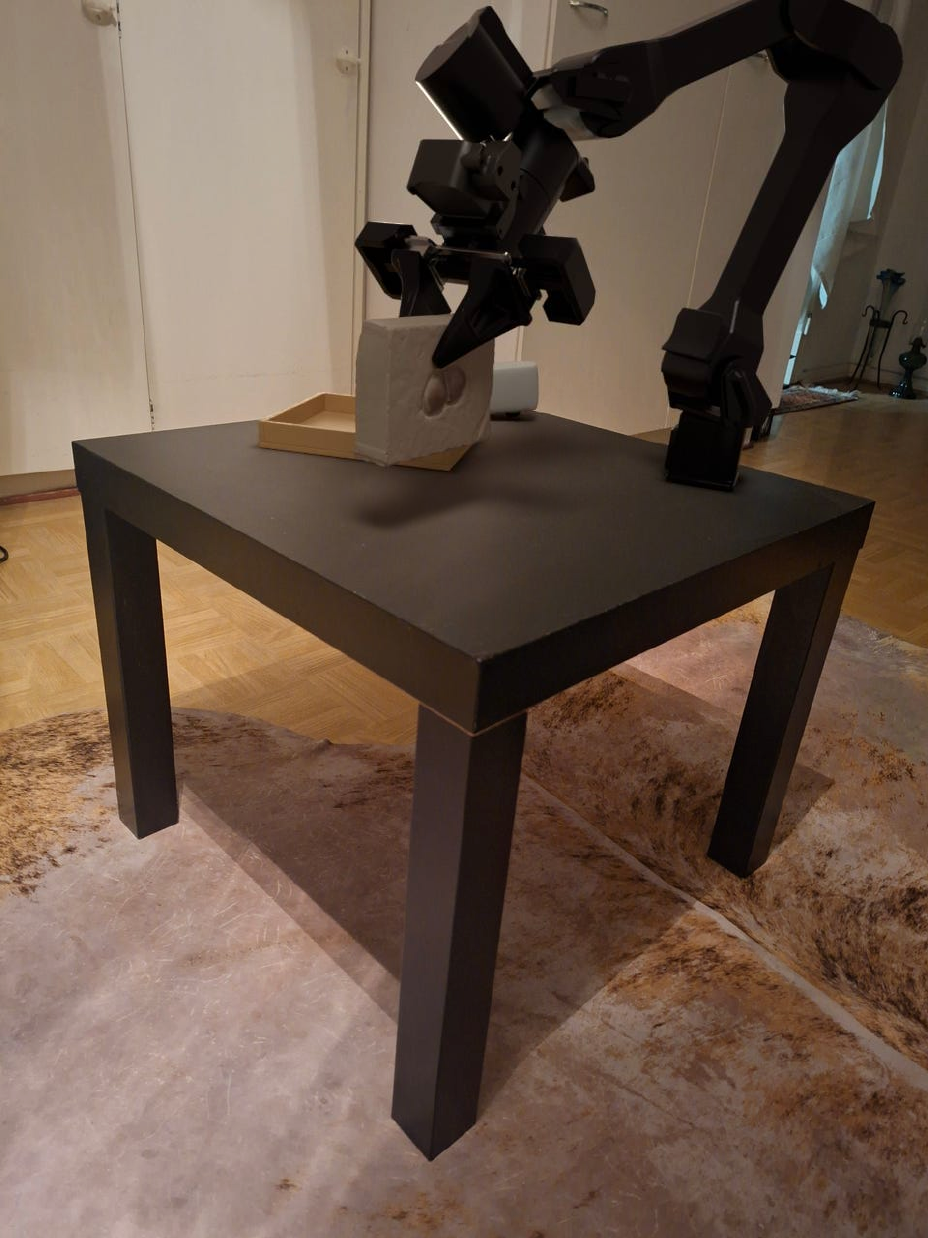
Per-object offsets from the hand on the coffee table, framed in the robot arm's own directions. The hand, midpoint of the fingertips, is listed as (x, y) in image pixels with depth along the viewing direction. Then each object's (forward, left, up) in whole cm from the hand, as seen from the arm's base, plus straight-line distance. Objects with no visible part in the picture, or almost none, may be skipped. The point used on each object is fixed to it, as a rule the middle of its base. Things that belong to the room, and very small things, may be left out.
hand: (415, 360), depth 60 cm
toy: (+10, -41, -12) cm, 44 cm away
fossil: (0, -2, -7) cm, 7 cm away
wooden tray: (+14, -23, -12) cm, 29 cm away
